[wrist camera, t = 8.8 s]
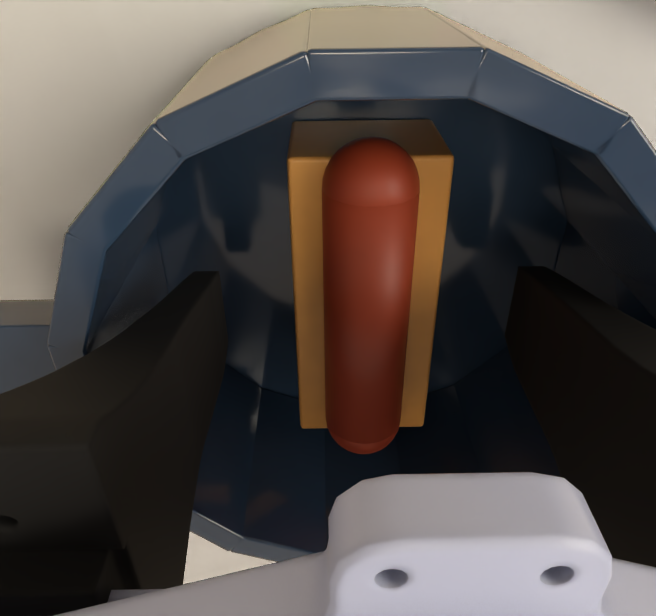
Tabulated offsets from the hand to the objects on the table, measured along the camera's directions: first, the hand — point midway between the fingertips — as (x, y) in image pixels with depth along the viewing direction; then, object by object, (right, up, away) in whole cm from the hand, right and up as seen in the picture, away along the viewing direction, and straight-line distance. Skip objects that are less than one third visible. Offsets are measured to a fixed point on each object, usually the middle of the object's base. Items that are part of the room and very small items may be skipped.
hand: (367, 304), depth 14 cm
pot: (0, +2, +2) cm, 3 cm away
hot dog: (0, +1, +2) cm, 2 cm away
